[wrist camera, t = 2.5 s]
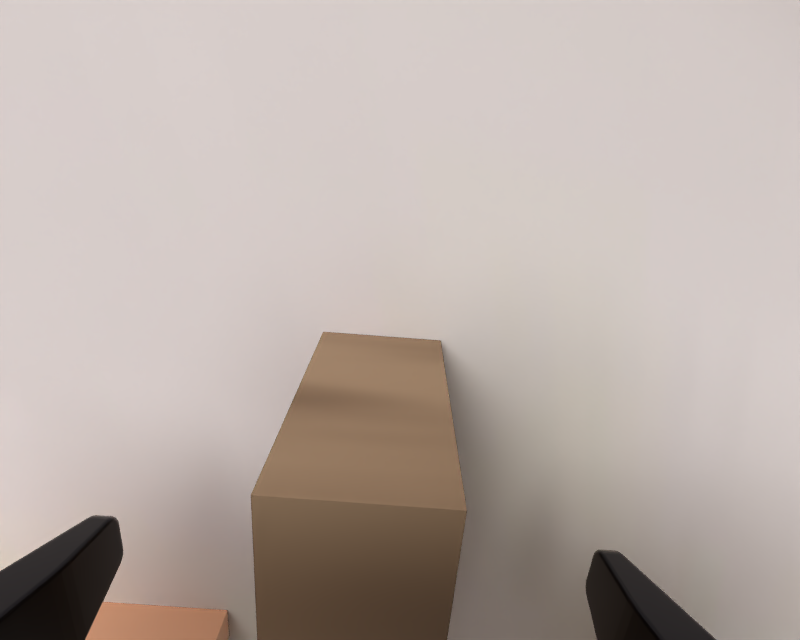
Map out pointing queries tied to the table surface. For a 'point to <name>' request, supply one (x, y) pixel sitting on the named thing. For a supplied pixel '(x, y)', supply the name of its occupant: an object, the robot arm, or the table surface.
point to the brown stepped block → (361, 498)
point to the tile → (158, 623)
